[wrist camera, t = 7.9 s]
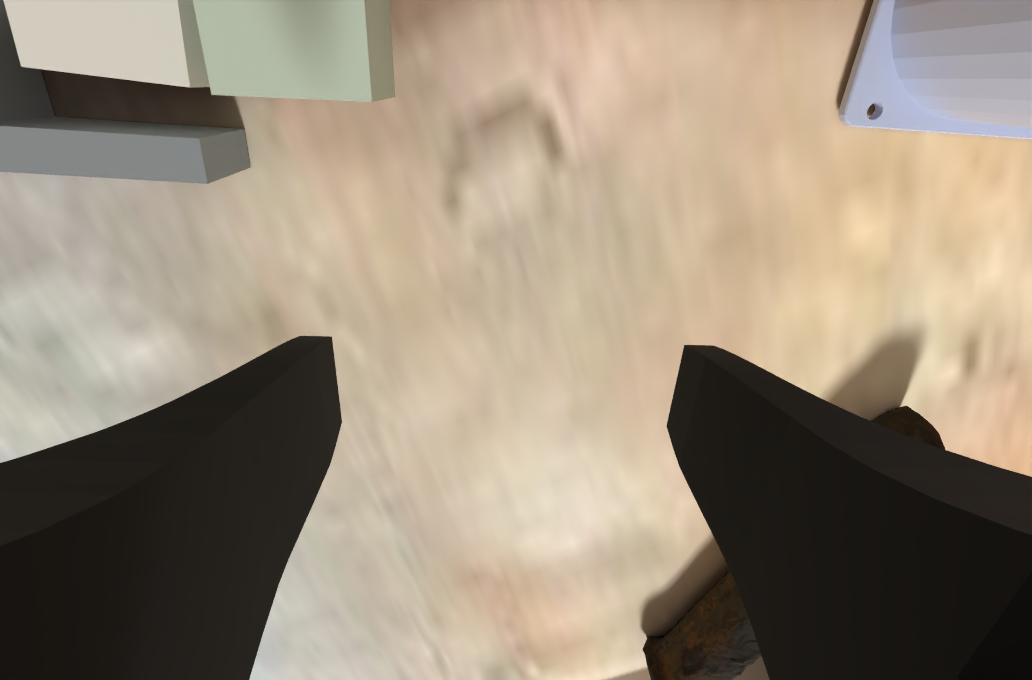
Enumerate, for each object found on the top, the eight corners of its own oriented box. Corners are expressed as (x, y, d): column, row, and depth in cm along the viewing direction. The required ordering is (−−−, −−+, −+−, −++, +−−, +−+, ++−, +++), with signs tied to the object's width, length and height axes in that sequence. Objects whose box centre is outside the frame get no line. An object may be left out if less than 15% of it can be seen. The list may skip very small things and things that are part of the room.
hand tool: (688, 653, 31) (720, 741, 27) (634, 635, 30) (658, 724, 26) (935, 421, 24) (1028, 491, 20) (876, 387, 23) (961, 455, 19)
